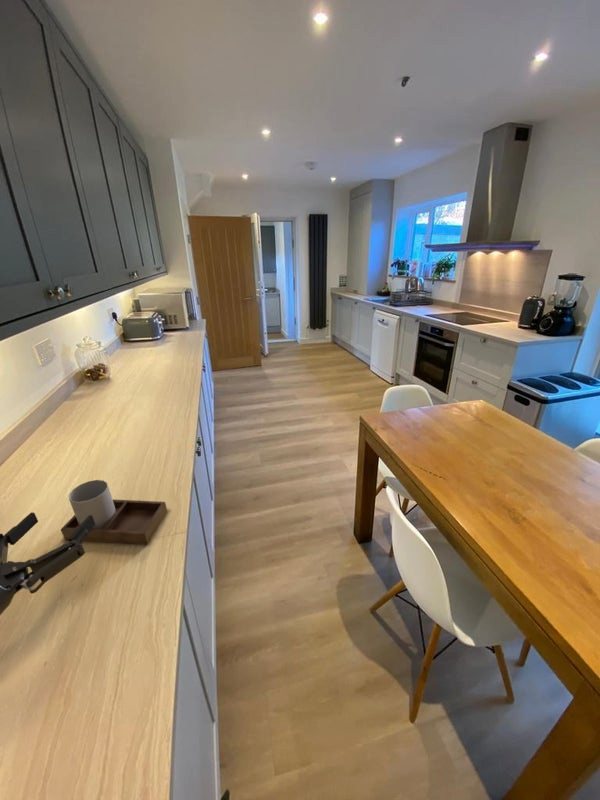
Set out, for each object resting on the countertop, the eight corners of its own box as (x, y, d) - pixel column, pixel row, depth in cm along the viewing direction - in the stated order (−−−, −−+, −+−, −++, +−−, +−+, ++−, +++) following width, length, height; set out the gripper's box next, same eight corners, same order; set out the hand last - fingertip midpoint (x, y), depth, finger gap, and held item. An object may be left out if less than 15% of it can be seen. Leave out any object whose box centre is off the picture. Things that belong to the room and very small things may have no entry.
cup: (96, 537, 80) (85, 506, 76) (72, 528, 82) (60, 497, 78) (124, 513, 87) (115, 483, 83) (101, 506, 89) (91, 477, 85)
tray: (64, 540, 80) (60, 529, 79) (93, 508, 91) (90, 498, 89) (147, 544, 79) (144, 534, 78) (167, 511, 89) (165, 501, 88)
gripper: (-88, 623, 56) (17, 528, 75) (48, 633, 54) (120, 533, 74) (-112, 595, 53) (4, 503, 72) (33, 604, 51) (112, 508, 70)
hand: (63, 518), depth 73 cm, fingers open, 13 cm apart
